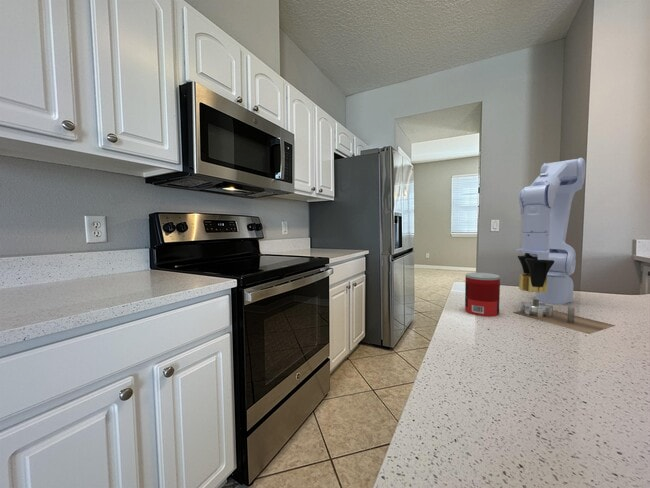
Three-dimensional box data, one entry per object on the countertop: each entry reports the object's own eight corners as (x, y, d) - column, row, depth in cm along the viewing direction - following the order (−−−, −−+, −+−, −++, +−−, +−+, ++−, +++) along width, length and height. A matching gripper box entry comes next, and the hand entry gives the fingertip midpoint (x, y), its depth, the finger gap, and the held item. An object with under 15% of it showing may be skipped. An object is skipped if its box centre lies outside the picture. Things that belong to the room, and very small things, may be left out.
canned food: (505, 320, 71) (506, 277, 70) (473, 320, 71) (474, 277, 70) (488, 310, 79) (489, 272, 78) (459, 311, 79) (460, 272, 78)
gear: (529, 307, 77) (530, 300, 77) (558, 315, 71) (559, 306, 71) (513, 311, 74) (513, 303, 74) (542, 319, 68) (542, 310, 68)
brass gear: (542, 288, 75) (543, 273, 74) (549, 293, 70) (550, 277, 69) (517, 287, 77) (517, 272, 77) (522, 291, 72) (523, 276, 72)
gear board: (538, 310, 78) (538, 294, 78) (615, 329, 63) (616, 310, 63) (512, 316, 74) (512, 299, 73) (589, 338, 59) (589, 317, 59)
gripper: (511, 231, 80) (509, 278, 81) (524, 233, 67) (522, 289, 68) (540, 231, 78) (539, 279, 79) (560, 233, 64) (558, 291, 65)
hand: (533, 284), depth 73 cm, fingers closed on brass gear, 6 cm apart
